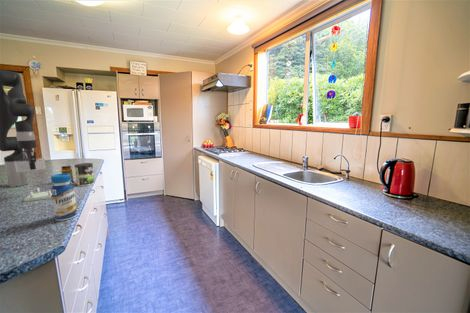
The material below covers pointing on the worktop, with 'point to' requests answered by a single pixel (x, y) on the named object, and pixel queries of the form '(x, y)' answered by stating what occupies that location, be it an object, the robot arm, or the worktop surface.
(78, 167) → the coffee can
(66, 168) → the condiment
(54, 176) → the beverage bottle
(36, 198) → the pale green pegged board
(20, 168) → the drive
